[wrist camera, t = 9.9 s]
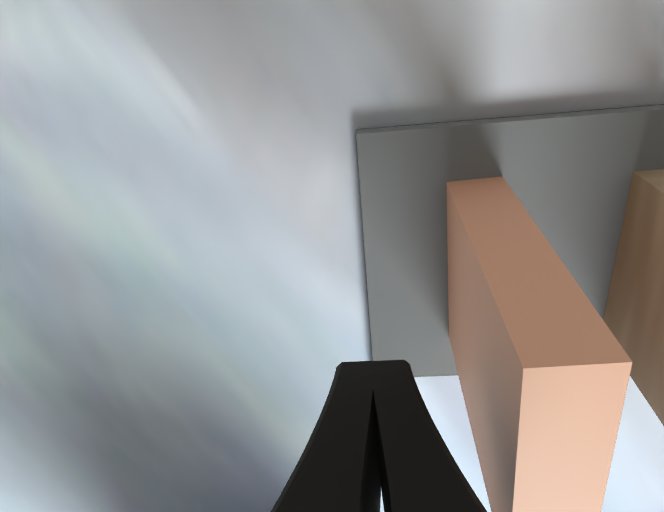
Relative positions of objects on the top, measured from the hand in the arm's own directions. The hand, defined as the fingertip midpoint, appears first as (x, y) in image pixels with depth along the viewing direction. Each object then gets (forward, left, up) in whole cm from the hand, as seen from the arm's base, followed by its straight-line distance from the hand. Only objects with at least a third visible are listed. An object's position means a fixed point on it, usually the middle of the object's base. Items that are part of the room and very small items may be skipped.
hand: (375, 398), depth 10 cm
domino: (+3, 0, -5) cm, 6 cm away
